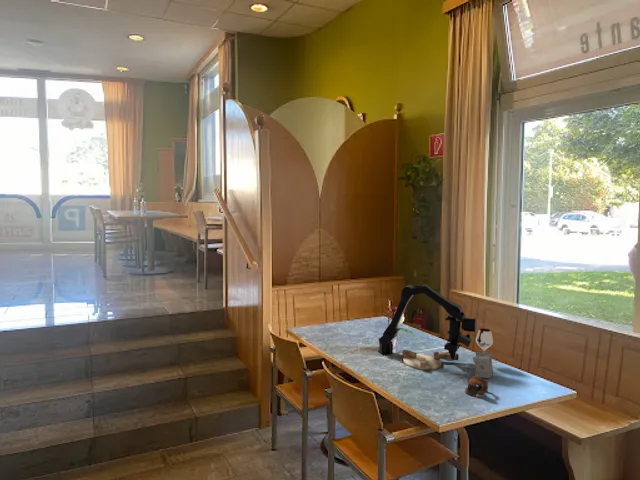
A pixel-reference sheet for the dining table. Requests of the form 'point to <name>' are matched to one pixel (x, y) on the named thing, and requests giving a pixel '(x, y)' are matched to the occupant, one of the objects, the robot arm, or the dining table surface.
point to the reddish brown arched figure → (473, 387)
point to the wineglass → (484, 338)
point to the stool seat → (420, 360)
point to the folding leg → (444, 356)
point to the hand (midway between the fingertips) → (452, 359)
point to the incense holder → (483, 364)
